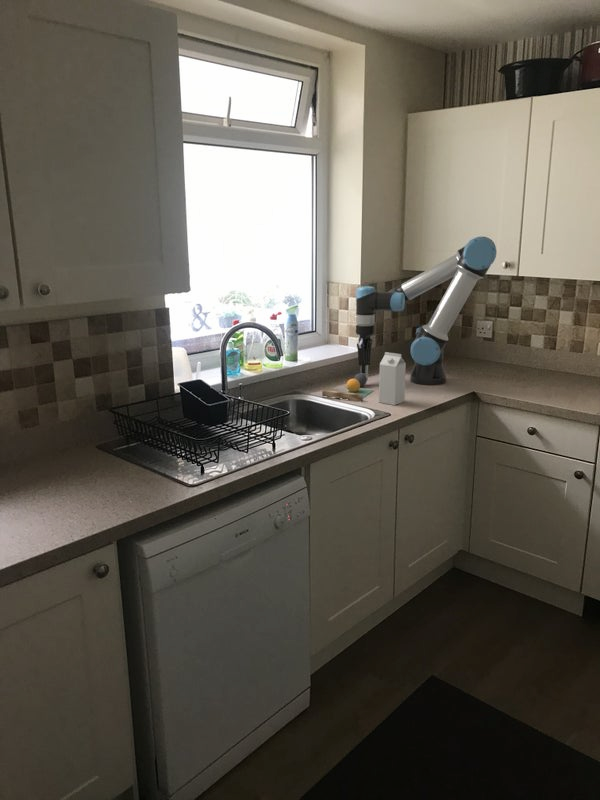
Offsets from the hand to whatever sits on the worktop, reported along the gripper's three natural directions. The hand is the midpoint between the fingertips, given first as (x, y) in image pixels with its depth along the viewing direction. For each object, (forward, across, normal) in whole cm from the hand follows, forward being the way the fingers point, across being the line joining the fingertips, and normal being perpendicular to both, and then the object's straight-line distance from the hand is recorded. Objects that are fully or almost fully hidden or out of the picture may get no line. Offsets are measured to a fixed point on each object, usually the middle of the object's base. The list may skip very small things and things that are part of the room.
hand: (364, 380), depth 276 cm
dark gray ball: (-1, +4, 0) cm, 4 cm away
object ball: (-1, +14, 0) cm, 14 cm away
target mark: (+2, +16, 0) cm, 16 cm away
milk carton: (+2, +22, +19) cm, 29 cm away
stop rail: (+2, +25, 0) cm, 25 cm away
